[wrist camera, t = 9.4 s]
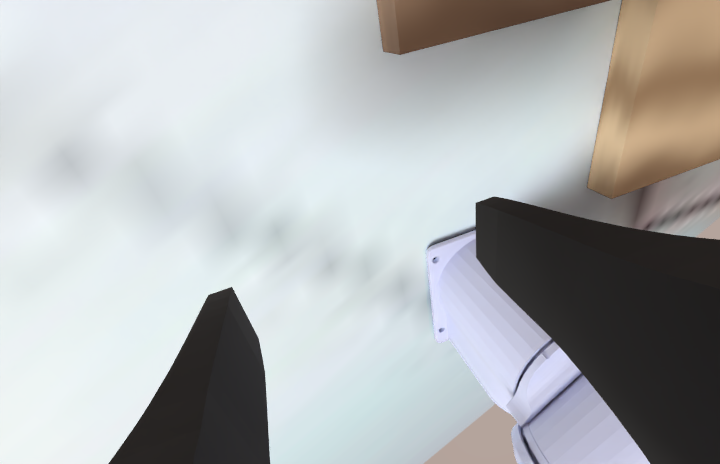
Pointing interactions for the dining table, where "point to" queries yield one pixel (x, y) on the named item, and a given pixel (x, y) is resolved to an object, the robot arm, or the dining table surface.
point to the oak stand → (659, 95)
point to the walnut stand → (458, 19)
